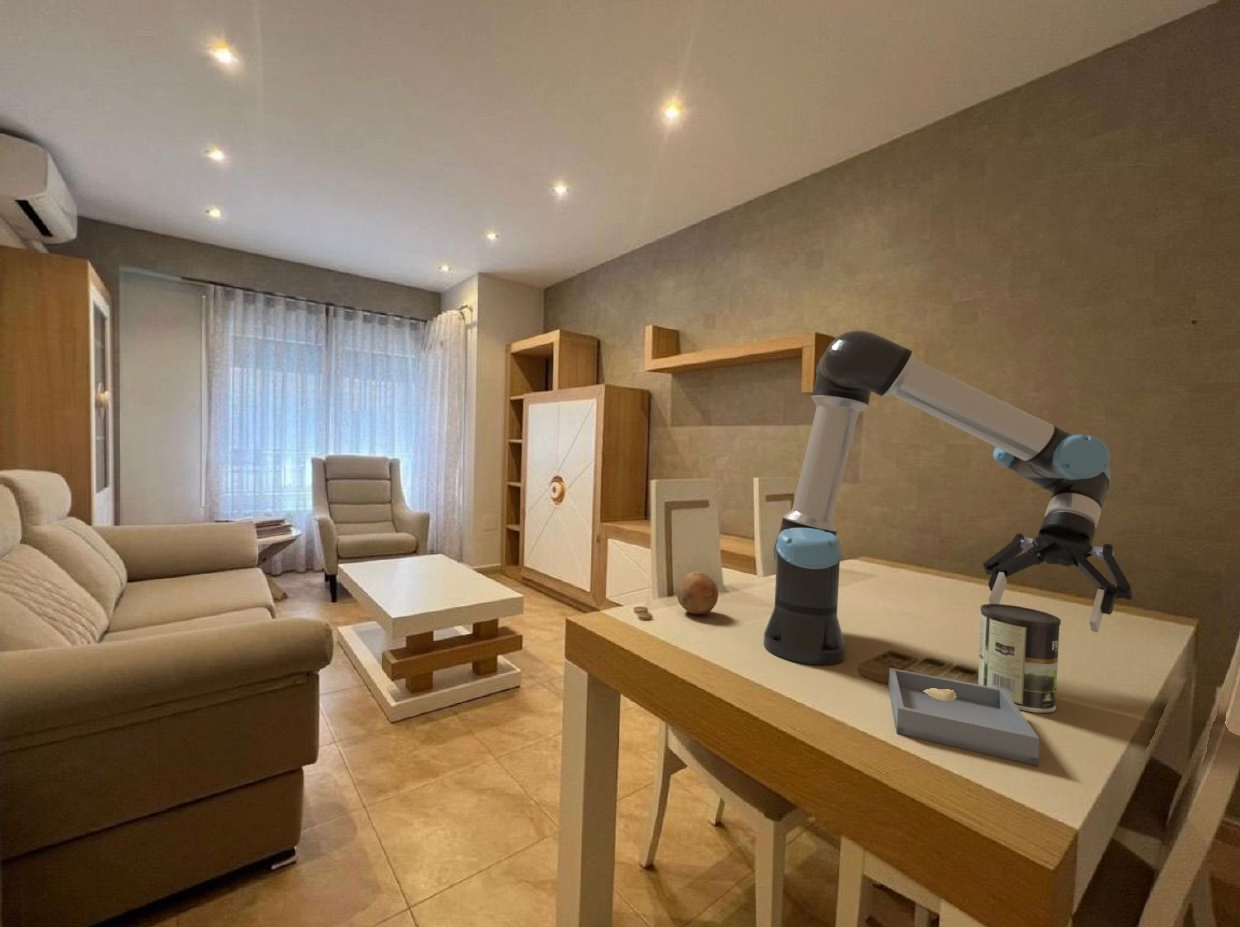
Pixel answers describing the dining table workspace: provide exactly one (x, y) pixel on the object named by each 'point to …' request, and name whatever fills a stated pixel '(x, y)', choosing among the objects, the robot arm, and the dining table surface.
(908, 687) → the tray
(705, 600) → the onion
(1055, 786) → the dining table surface
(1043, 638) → the coffee can
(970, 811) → the dining table surface
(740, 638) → the dining table surface
